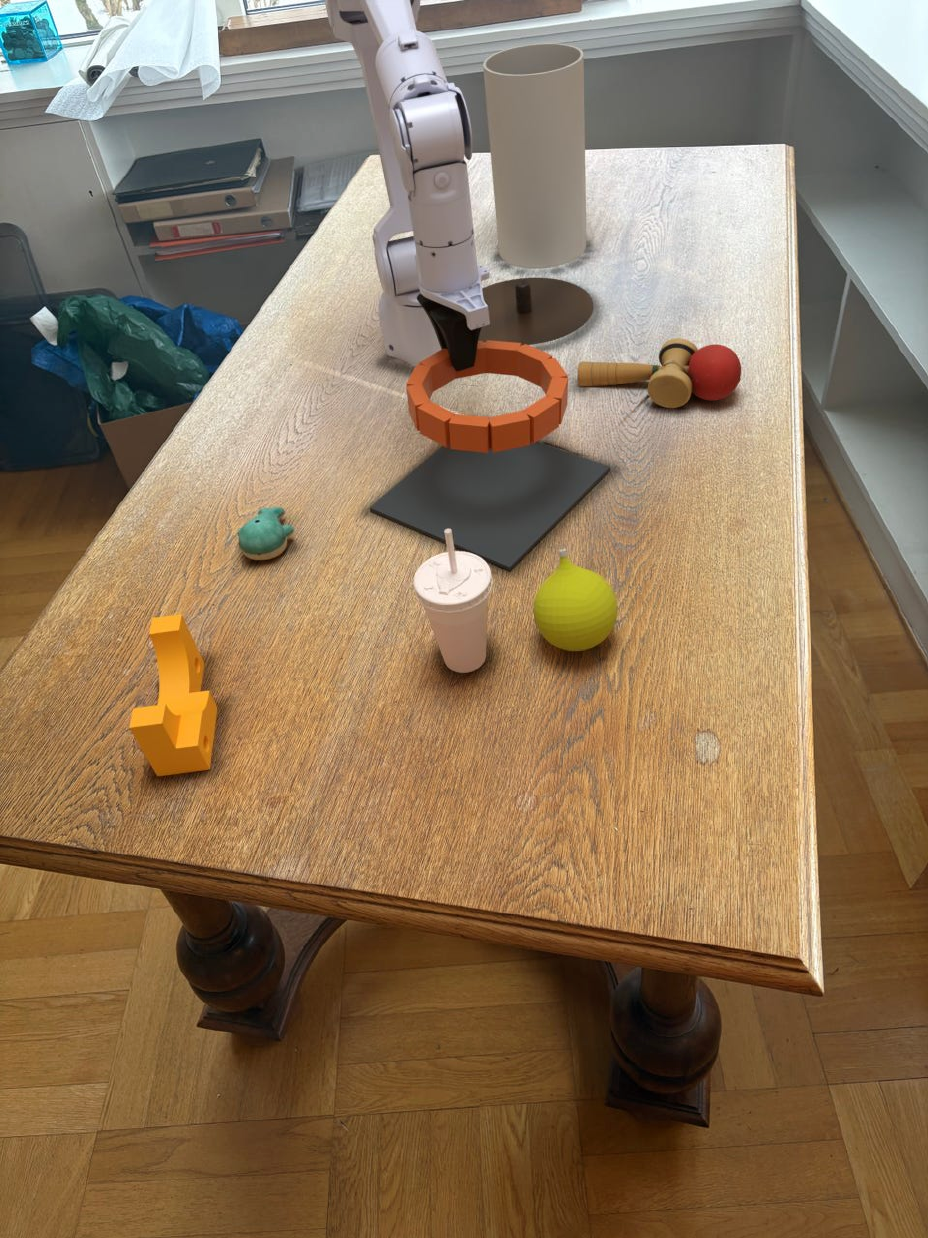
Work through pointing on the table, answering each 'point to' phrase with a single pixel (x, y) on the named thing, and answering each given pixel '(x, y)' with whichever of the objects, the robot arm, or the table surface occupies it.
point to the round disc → (534, 310)
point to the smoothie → (456, 604)
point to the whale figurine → (264, 534)
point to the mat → (491, 497)
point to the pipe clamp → (176, 704)
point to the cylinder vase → (538, 152)
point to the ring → (496, 429)
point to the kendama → (673, 373)
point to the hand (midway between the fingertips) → (460, 362)
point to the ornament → (574, 607)
